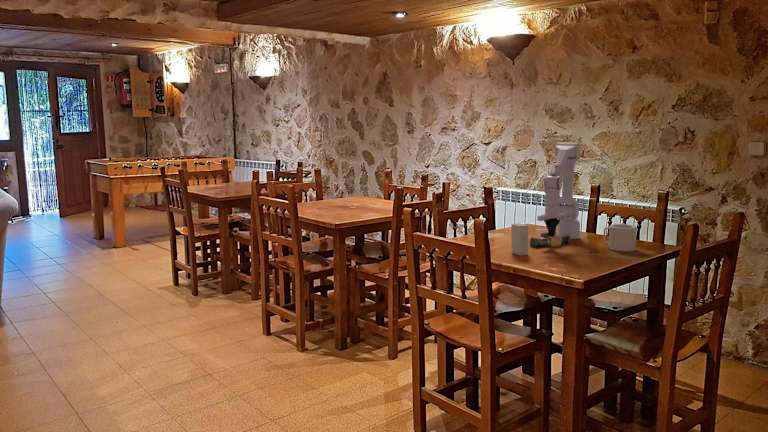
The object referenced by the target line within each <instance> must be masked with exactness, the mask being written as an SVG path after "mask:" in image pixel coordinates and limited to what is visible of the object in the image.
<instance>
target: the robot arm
mask: <svg viewBox="0 0 768 432" xmlns="http://www.w3.org/2000/svg"><path fill="white" fill-rule="evenodd" d="M554 153H555V157H556V160H555V163H554V164H552V165H551V168H550V171H549V173H548V175H547V176H545V178H544V182H543V187H544V194H545V203H544V204H545V205H544V206H545V207H544V214H542V215H538V216H537V220H536V221H538V222H543V221H544V223H545V225H546V228H547V232H549V236H551V237H554V234H555V230H556V231H557V234H558V235H561V236H563V235H564V234H568V235H569V236H570V238H571V240H578V239H581V237H580V235H581V234H580V232H581V224H580V220H578V217H579V214H580V207H579V201H578V200H576V199H575V198H574V196H573V193H574V182H575V181H574V179H575V177H574V176H575V165H576V162H578V161H580V156H581V144H580V143H579V142H567V141H566V142H565V141H564V142H561V141H557V142H556V143H555V145H554ZM561 190H562V191H561ZM561 192H562V193H561Z"/></svg>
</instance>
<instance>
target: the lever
mask: <svg viewBox="0 0 768 432" xmlns="http://www.w3.org/2000/svg"><path fill="white" fill-rule="evenodd" d="M555 234H557V229H556V230H555ZM555 234H554V235H555ZM547 237H549V232H548V231H543V232H540V238H547Z"/></svg>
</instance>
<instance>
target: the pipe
mask: <svg viewBox="0 0 768 432" xmlns="http://www.w3.org/2000/svg"><path fill="white" fill-rule="evenodd" d="M561 237H562V244H561V245H571V242H572V239H571V238H570V236H569V235H568V234H564V235H563V236H561ZM547 245H548V239H547V238H541V237H535V236H532V237H530V239H529V246H530V247H532V248H534V249H535V248H539V247H548V246H547Z"/></svg>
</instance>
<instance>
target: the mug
mask: <svg viewBox="0 0 768 432" xmlns="http://www.w3.org/2000/svg"><path fill="white" fill-rule="evenodd" d="M606 230H608V241H607V240H606ZM637 231H638V227H637V225H636V226H635V225H633V224H626V223H614V224H610V225H609V226H608V227H604V228H603V238H602V241H603V242H604V243H606V244H608V247H607V248H608V249H609V250H611V251H614V250H615V252H622V253H623V252H624V253H625V252H627V253H630V251H631V252H634V251H636V247H637V246H636V244H637Z"/></svg>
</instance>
